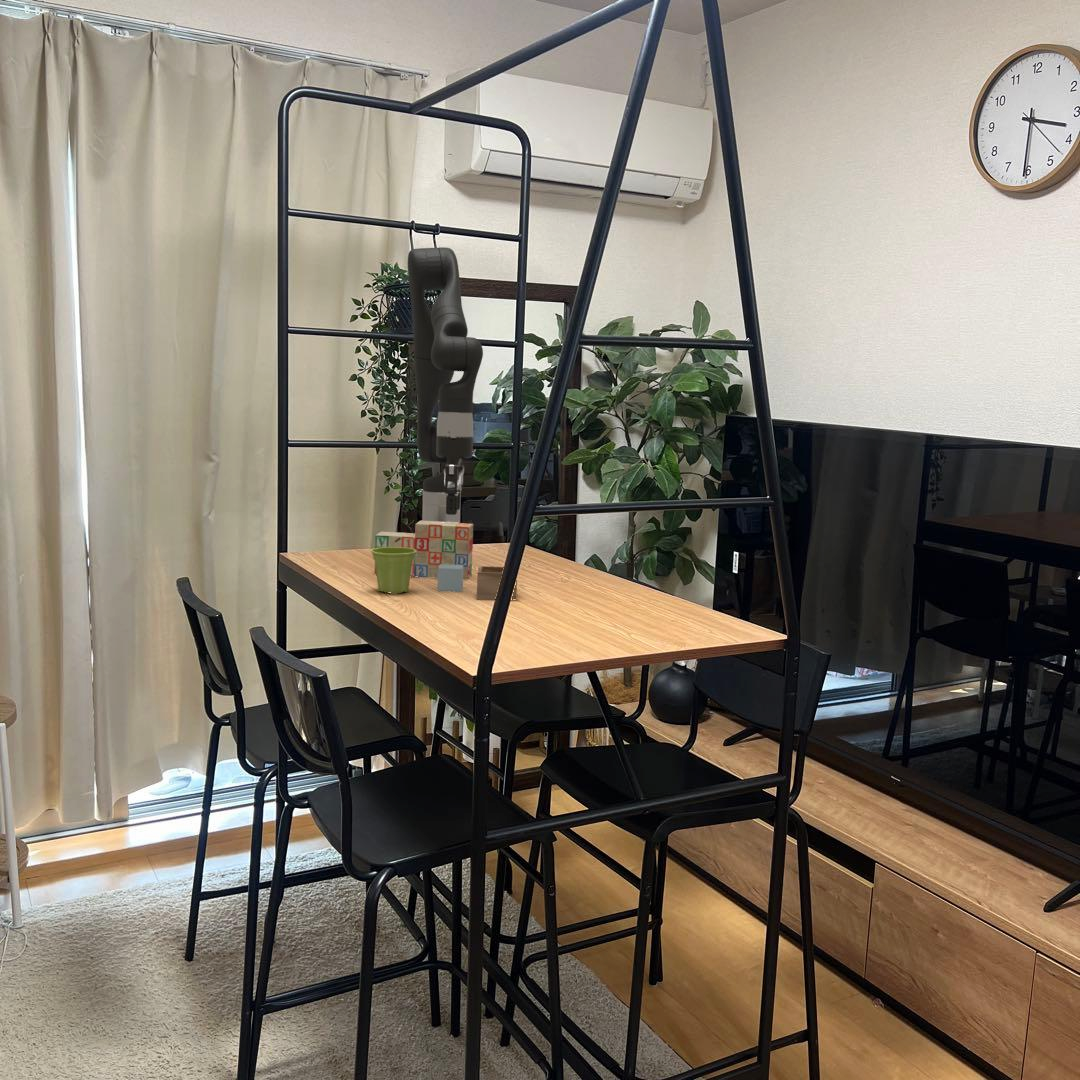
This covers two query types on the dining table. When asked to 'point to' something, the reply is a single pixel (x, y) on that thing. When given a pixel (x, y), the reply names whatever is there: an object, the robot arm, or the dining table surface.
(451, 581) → the bluegrey cube
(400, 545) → the stack of blocks
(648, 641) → the dining table surface
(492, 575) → the walnut base
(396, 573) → the plant pot
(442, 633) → the dining table surface
